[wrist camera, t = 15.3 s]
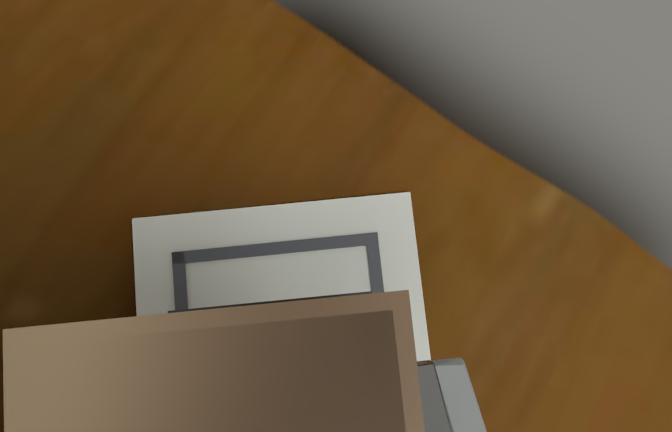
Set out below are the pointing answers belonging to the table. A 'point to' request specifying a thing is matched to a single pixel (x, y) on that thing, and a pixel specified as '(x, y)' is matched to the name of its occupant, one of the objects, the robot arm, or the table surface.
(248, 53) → the table surface
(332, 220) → the print card
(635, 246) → the table surface
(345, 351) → the stamp
